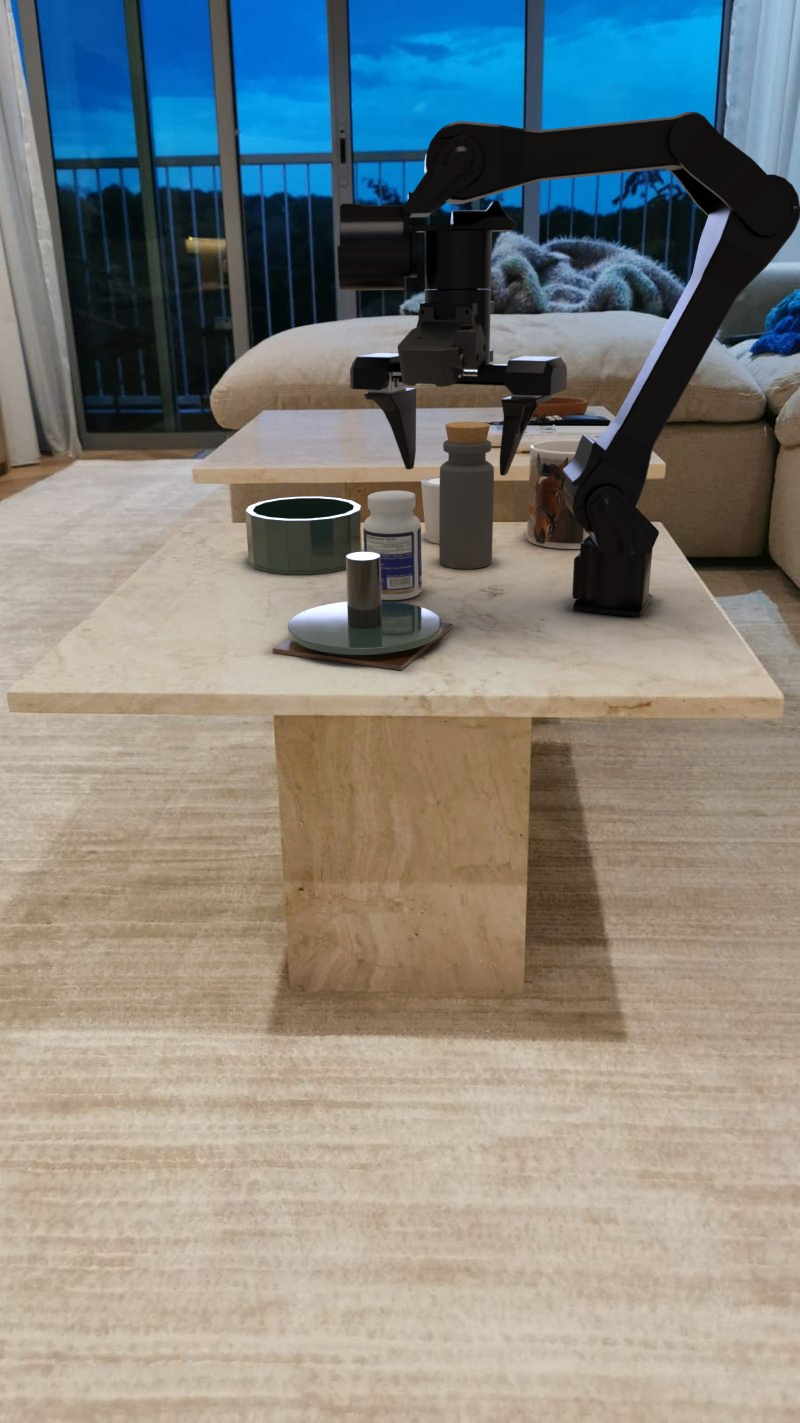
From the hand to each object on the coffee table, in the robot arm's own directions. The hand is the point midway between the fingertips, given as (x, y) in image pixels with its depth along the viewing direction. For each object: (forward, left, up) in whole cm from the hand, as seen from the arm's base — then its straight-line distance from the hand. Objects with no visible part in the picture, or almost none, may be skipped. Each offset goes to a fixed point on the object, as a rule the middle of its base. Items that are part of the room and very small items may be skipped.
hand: (455, 471), depth 99 cm
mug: (-4, -30, -13) cm, 33 cm away
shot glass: (+10, -26, -13) cm, 31 cm away
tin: (+22, -11, -13) cm, 28 cm away
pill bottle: (+7, -2, -13) cm, 15 cm away
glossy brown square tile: (+4, +12, -13) cm, 18 cm away
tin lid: (+4, +12, -12) cm, 17 cm away
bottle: (+5, -16, -13) cm, 22 cm away
